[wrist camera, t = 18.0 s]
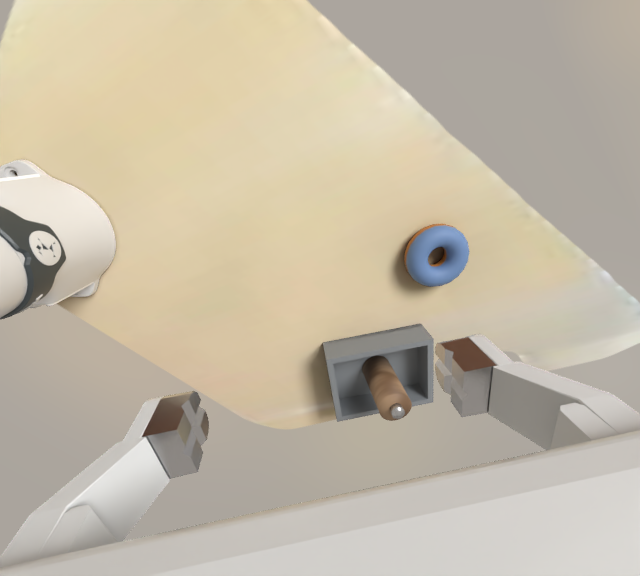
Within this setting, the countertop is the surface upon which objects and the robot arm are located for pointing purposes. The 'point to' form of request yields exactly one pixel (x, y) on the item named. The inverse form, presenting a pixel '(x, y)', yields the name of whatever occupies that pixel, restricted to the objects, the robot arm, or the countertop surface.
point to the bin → (403, 355)
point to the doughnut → (423, 246)
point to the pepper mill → (386, 388)
